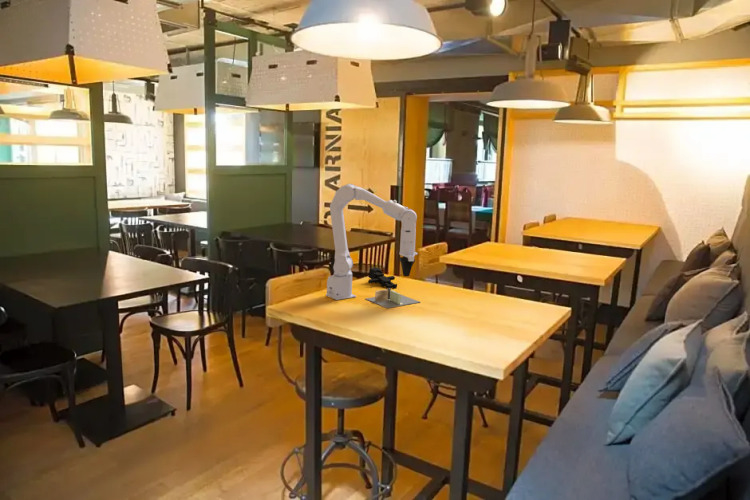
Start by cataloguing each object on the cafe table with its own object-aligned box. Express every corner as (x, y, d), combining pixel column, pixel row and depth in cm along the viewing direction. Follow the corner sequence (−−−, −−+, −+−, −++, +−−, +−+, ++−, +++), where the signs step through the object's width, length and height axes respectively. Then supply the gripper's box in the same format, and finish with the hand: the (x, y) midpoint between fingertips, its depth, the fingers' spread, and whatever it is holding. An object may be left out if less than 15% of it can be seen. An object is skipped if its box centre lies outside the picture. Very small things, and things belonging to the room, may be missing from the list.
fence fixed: (376, 302, 208) (377, 290, 207) (374, 301, 209) (375, 289, 208) (390, 299, 212) (391, 288, 211) (388, 299, 213) (389, 287, 212)
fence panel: (388, 299, 211) (389, 289, 210) (391, 299, 211) (391, 289, 210) (398, 304, 205) (398, 294, 204) (400, 303, 205) (400, 294, 204)
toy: (381, 284, 224) (360, 269, 235) (379, 296, 226) (358, 281, 237) (406, 280, 233) (385, 266, 243) (404, 292, 235) (383, 277, 245)
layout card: (387, 308, 200) (387, 307, 200) (365, 299, 211) (365, 298, 211) (420, 302, 210) (420, 301, 210) (397, 294, 221) (397, 293, 221)
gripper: (422, 244, 201) (420, 280, 203) (413, 238, 215) (411, 271, 218) (404, 244, 200) (402, 280, 202) (396, 238, 214) (394, 271, 216)
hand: (406, 275), depth 210 cm, fingers closed
